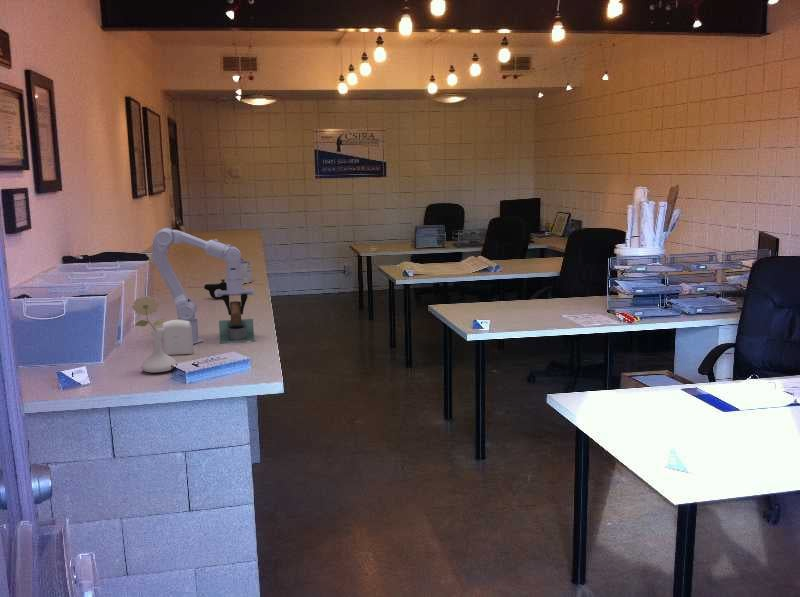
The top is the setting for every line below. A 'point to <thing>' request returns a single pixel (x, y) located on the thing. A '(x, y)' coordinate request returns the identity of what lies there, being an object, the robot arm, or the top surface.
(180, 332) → the photo printer
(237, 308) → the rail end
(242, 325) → the cup bracket
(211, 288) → the controller
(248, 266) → the ink cartridge box
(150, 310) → the flower in vase
